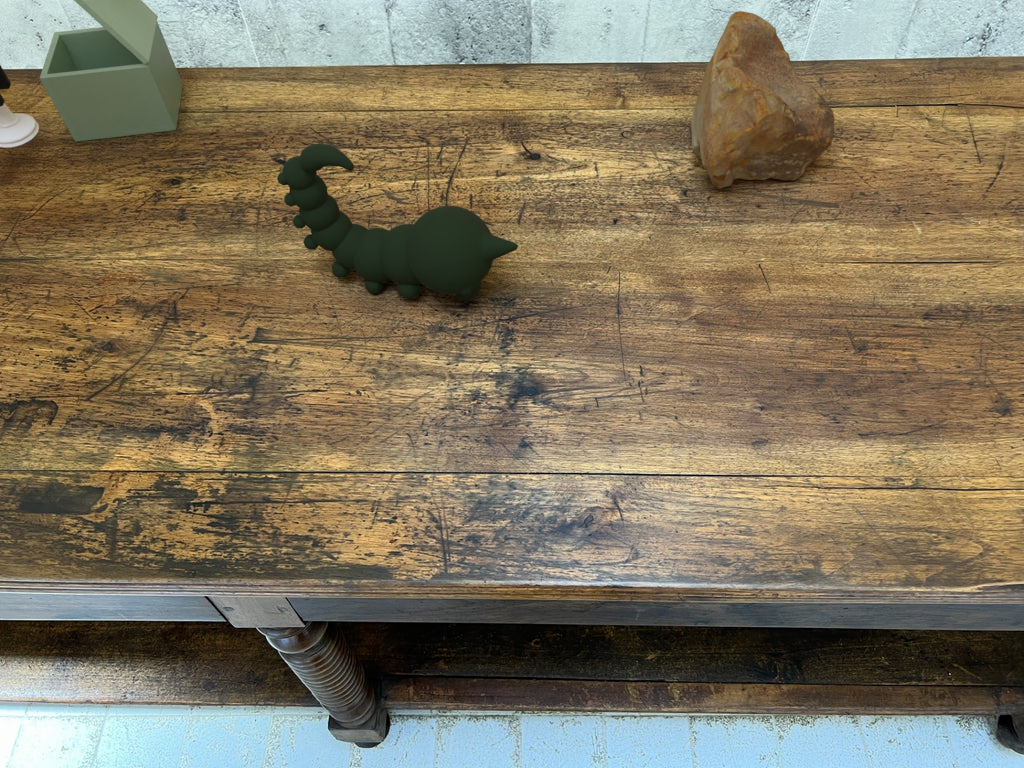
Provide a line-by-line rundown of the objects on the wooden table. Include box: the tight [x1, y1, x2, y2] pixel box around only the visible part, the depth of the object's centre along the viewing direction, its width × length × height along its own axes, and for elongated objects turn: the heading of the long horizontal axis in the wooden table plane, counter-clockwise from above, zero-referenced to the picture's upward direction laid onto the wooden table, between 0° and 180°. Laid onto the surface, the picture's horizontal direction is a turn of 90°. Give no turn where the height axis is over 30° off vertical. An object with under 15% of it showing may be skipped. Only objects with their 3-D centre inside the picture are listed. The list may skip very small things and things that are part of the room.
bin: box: [39, 21, 184, 143], centre depth 111 cm, size 14×11×10 cm
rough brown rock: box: [690, 10, 835, 189], centre depth 100 cm, size 23×17×15 cm
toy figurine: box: [276, 143, 519, 302], centre depth 87 cm, size 9×19×25 cm
